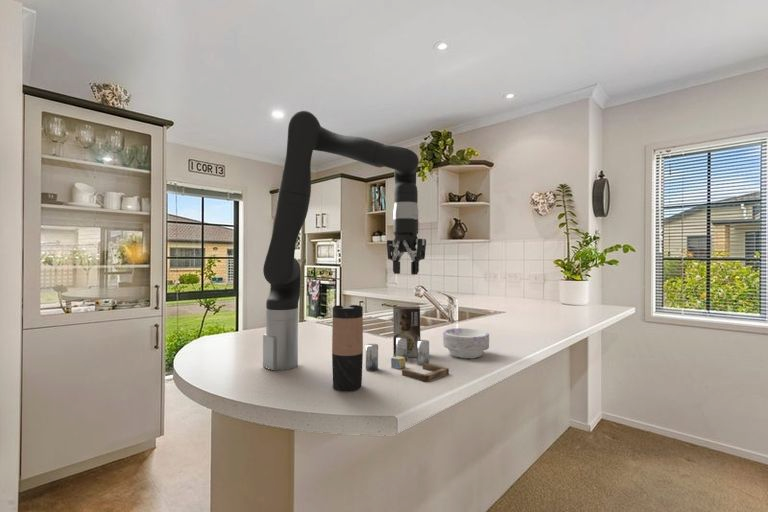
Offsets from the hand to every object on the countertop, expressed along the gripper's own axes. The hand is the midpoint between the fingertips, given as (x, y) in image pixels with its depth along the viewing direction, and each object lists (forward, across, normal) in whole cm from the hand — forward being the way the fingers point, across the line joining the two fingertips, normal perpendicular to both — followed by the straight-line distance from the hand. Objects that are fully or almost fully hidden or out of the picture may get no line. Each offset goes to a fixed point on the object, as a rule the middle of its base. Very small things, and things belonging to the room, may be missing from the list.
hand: (405, 273), depth 113 cm
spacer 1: (+28, -5, -9) cm, 30 cm away
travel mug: (+28, +2, -24) cm, 37 cm away
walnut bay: (+28, +9, -2) cm, 29 cm away
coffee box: (+28, -9, +11) cm, 31 cm away
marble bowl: (+28, +5, +25) cm, 38 cm away
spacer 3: (+28, +2, +6) cm, 28 cm away
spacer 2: (+28, -6, +5) cm, 29 cm away
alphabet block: (+28, -1, -2) cm, 28 cm away
